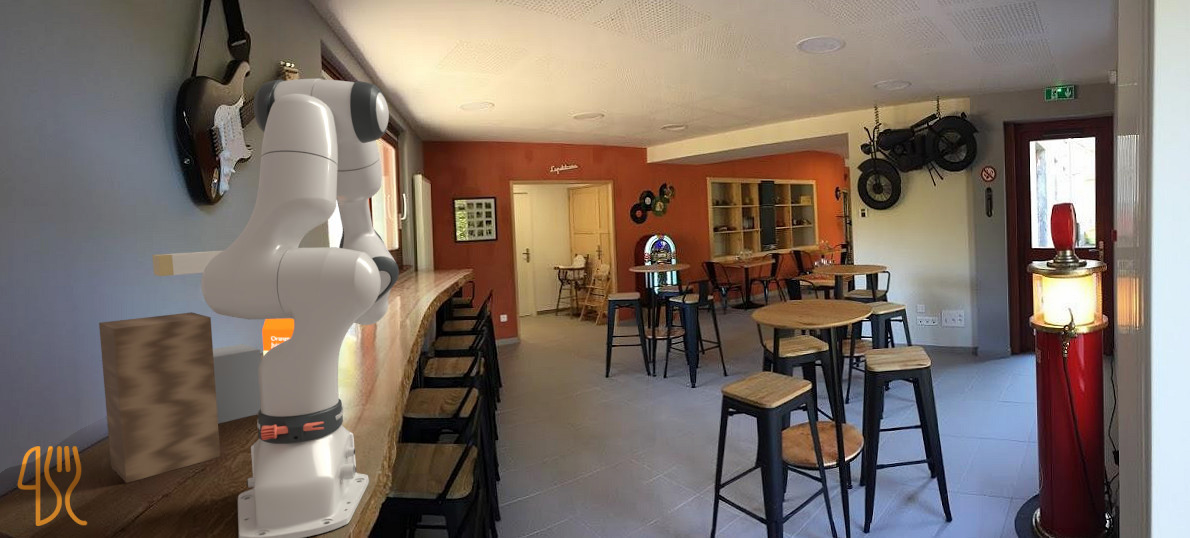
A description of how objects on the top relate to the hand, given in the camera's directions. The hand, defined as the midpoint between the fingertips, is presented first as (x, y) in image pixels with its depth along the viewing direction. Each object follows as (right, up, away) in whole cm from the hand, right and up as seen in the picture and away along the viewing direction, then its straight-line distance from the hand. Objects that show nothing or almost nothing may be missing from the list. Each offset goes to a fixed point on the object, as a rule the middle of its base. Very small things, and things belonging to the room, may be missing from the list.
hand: (254, 255), depth 119 cm
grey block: (-15, -35, +17) cm, 42 cm away
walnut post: (-10, -38, -10) cm, 40 cm away
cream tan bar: (-4, -3, -5) cm, 7 cm away
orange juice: (-18, -33, +48) cm, 61 cm away
